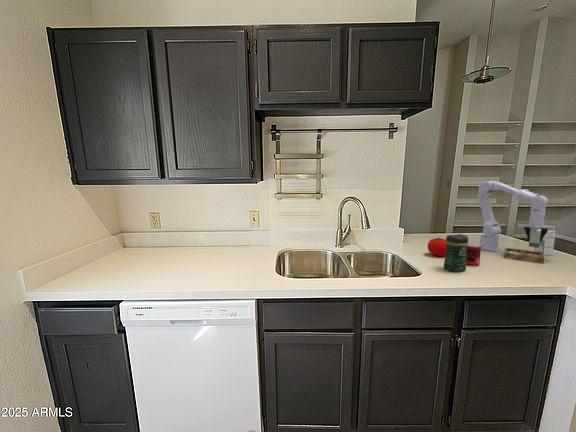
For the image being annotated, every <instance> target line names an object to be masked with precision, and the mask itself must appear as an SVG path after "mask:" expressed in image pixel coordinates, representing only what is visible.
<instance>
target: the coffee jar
mask: <svg viewBox="0 0 576 432" xmlns="http://www.w3.org/2000/svg"><path fill="white" fill-rule="evenodd" d="M445 240H446V254H445V255H444V262H443V269H445V270H446V271H448V272H453V273H457V272H458V273H459V272H465V271H466V270H467V265H466V248H467V245H468V243H469V237H468V235H465V234H461V233H458V234H448V235H447V236H446V238H445Z"/></svg>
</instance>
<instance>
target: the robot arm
mask: <svg viewBox="0 0 576 432" xmlns="http://www.w3.org/2000/svg"><path fill="white" fill-rule="evenodd" d="M499 190H500V191H503V192H505V193H508V194H511V195H513V196H515V198H516V199H518V200H520V201H522V202H525V203H528V204H530V214H529V222H528V223H518V226H517V228H520V229H521V228H522V229H524V231H525V234H526V236H527V241H528V242H529V241H530V232H531V229H536V230H539V229H541V235H540V242H541V241H542V239H543V237H544V235H545V234H546V233H547V232H548V230H551V231H556V226H554V225H545V216H546V206H547V204H548V203H549V199H548V198H547V196H545V195H542V194H541V195H539V193H537V192H536V193H535V192H531V191H529V189H527V188H526V189H524V188H522V189H518V188H515V187H512V186H510V185H507V184H506V183H503V182H501V181H497V180H484V181H482V183H480V184H479V185H478V192H477V193H476V194H477V200H478V203H479V207H480V211H481V214H482V217H483V222H484V223H483V224H482V227H483V229H482V233H483V234H484V235H483V234H481V235H480V238H479V243H478V244H480V245H481V251H483V250H484V251H489V252H497V253H498V252H499V250H500V248H499V241H500V234H501V233H502V226H500V225H499V222H498V221H497V220H496V219H495V214H494V212H493V209H492V205H491V201H490V199H489V196H490V195H491V194H492V193H493V192H495V191H499Z"/></svg>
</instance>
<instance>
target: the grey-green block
mask: <svg viewBox="0 0 576 432" xmlns="http://www.w3.org/2000/svg"><path fill="white" fill-rule="evenodd" d="M540 235H541V233H540V232H537V231H530V241H528V247H529V248H530V247H531V248H535V247H537V248H539V243H540Z"/></svg>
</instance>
